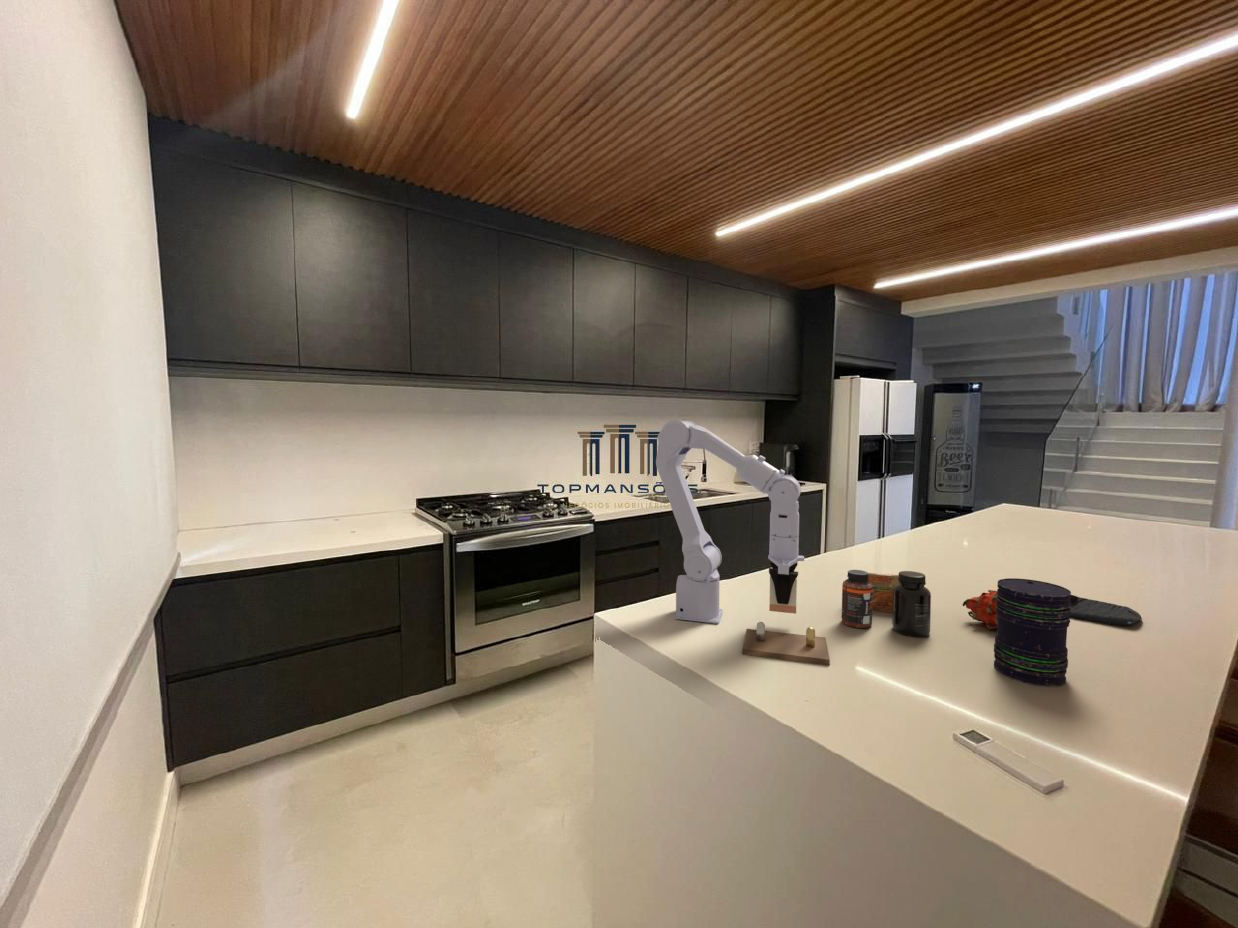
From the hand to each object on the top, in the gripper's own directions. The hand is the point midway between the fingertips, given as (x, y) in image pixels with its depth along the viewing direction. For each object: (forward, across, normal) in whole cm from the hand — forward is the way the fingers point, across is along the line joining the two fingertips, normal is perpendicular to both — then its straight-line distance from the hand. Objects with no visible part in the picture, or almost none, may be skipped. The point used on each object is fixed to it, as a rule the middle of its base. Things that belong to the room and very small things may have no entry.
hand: (782, 598), depth 107 cm
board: (+6, -10, -1) cm, 12 cm away
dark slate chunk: (+7, +30, -63) cm, 70 cm away
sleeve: (+2, 0, 0) cm, 2 cm away
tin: (+6, +18, -22) cm, 29 cm away
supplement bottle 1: (+6, +7, -15) cm, 18 cm away
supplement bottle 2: (+6, +6, -25) cm, 27 cm away
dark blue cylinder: (+6, -8, -40) cm, 41 cm away
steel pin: (+5, -10, +4) cm, 12 cm away
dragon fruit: (+6, +13, -42) cm, 45 cm away
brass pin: (+5, -10, -5) cm, 12 cm away
